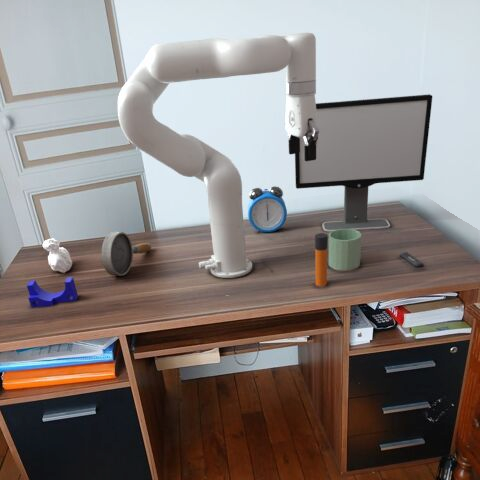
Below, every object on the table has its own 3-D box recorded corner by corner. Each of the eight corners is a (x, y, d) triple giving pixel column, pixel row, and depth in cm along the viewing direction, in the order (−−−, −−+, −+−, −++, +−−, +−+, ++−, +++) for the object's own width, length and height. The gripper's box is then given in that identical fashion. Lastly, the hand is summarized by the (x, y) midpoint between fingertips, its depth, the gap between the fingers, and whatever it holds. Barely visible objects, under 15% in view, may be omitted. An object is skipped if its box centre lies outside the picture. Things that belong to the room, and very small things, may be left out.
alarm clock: (249, 234, 174) (246, 191, 166) (249, 228, 179) (246, 186, 171) (287, 231, 173) (286, 188, 166) (285, 225, 179) (284, 183, 171)
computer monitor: (297, 233, 171) (294, 107, 150) (295, 224, 178) (292, 103, 158) (420, 226, 168) (434, 96, 148) (414, 217, 175) (426, 92, 155)
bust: (66, 267, 168) (38, 244, 163) (81, 252, 166) (53, 228, 161) (59, 283, 157) (28, 259, 153) (75, 267, 155) (44, 242, 150)
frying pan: (142, 226, 167) (100, 233, 144) (151, 227, 166) (109, 234, 143) (144, 265, 171) (102, 278, 148) (152, 266, 170) (111, 279, 147)
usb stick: (398, 257, 149) (399, 252, 148) (406, 255, 149) (407, 251, 148) (415, 270, 141) (415, 265, 140) (423, 268, 141) (424, 263, 140)
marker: (318, 289, 136) (318, 238, 128) (313, 284, 138) (312, 234, 131) (329, 286, 136) (329, 236, 129) (323, 281, 139) (323, 232, 132)
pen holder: (338, 274, 142) (338, 243, 137) (322, 262, 150) (322, 232, 145) (366, 267, 144) (367, 236, 140) (349, 256, 152) (350, 226, 147)
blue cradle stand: (31, 307, 140) (24, 288, 137) (36, 299, 144) (30, 280, 141) (74, 303, 140) (68, 284, 137) (78, 296, 144) (72, 277, 141)
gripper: (274, 87, 135) (276, 153, 144) (302, 93, 121) (303, 165, 130) (299, 84, 137) (300, 149, 146) (330, 89, 123) (329, 161, 132)
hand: (302, 156), depth 138 cm, fingers open, 9 cm apart
